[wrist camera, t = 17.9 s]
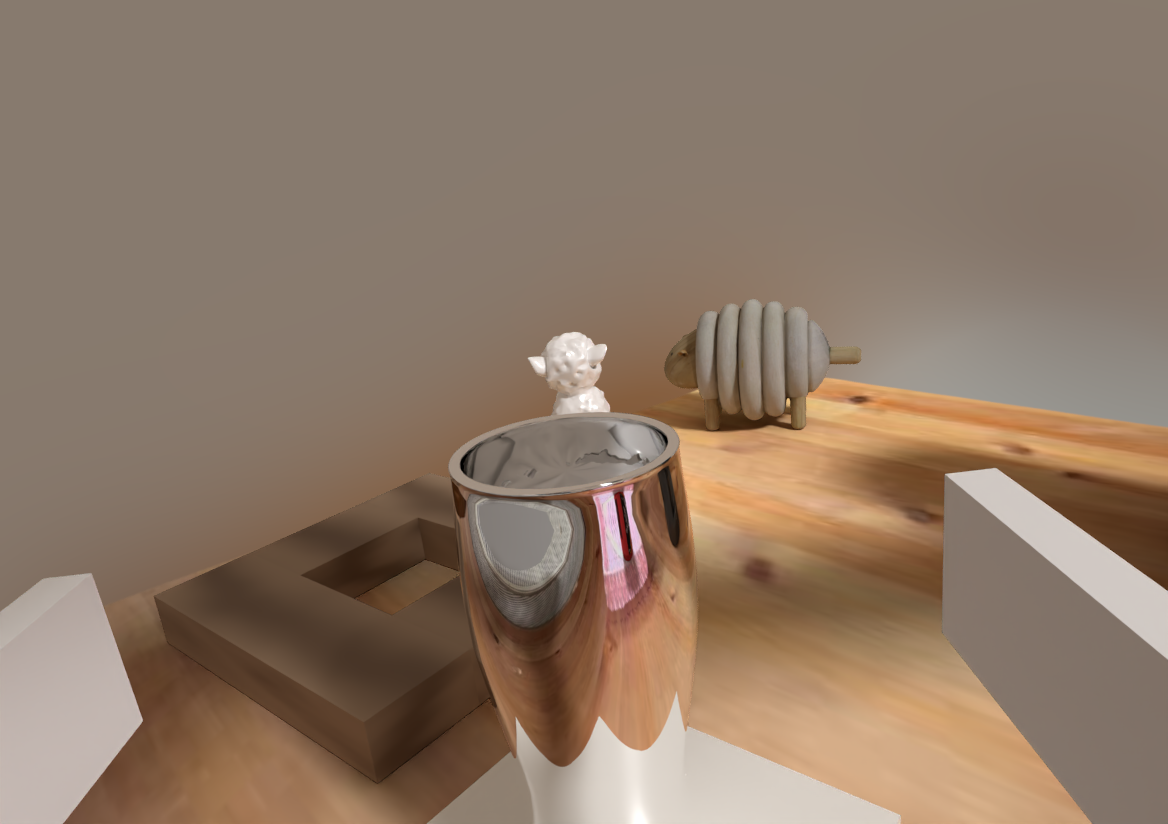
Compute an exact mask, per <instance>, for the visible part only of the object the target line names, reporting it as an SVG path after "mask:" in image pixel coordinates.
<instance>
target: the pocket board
mask: <svg viewBox="0 0 1168 824" xmlns="http://www.w3.org/2000/svg"><path fill="white" fill-rule="evenodd" d="M425 559H426V560H429V561H432V562H435V563H438V564H441V565H444V566H446V567H449V568H452V569H455V570H458V571H459V568H458V560H457V549H456V538H455V526H454V511H453V498H452V487H451V478H447V477H444V476H439V475H435V474H431V473H429V474H426V475H424V476H422V477H420V478H417V479H415V480H413V481H411V482H409V483H406V484H404V485H402V486H399V487H397V488H395V489H393V490H390V491H388V492H386V493H384V494H381V495H379V496H377V497H375V498H373V499H371V500H368V501H366V502H364V503H361V504H359V505H357V506H355V507H352V508H350V509H348V510H346V511H343V512H341V513H339V514H337V515H334V516H332V517H330V518H328V519H326V520H323V521H321V522H319V523H317V524H314V525H312V526H310V527H307V528H305V529H303V530H301V531H299V532H296V533H294V534H292V535H290V536H287V537H285V538H283V539H281V540H278V541H276V542H274V543H272V544H269V545H267V546H265V547H263V548H260V549H258V550H256V551H254V552H251V553H249V554H247V555H245V556H242V557H240V558H238V559H236V560H233V561H231V562H229V563H227V564H225V565H222V566H220V567H218V568H216V569H213V570H211V571H209V572H207V573H204V574H202V575H200V576H198V577H195V578H193V579H191V580H189V581H186V582H184V583H182V584H180V585H177V586H175V587H173V588H171V589H168V590H166V591H164V592H162V593H159V594H157V595H155V596H154V599H155V602H156V605H157V609H158V612H159V615H160V619H161V622H162V625H163V629H164V632H165V635H166V639H167V642H168V643H169V644H171V645H172V646H174V647H175V648H177V649H178V650H180V651H181V652H183V653H184V654H186V655H187V656H189V657H190V658H192V659H193V660H195V661H196V662H197V663H199V664H200V665H202V666H203V667H205V668H206V669H208V670H209V671H211V672H212V673H214V674H215V675H217V676H218V677H220V678H221V679H223V680H224V681H226V682H227V683H229V684H230V685H232V686H233V687H235V688H236V689H238V690H239V691H241V692H242V693H244V694H245V695H247V696H248V697H250V698H251V699H253V700H254V701H256V702H257V703H259V704H260V705H261V706H263V707H264V708H266V709H267V710H269V711H270V712H272V713H273V714H275V715H276V716H278V717H279V718H281V719H282V720H284V721H285V722H287V723H288V724H290V725H291V726H293V727H294V728H296V729H297V730H299V731H300V732H302V733H303V734H305V735H306V736H308V737H309V738H311V739H312V740H314V741H315V742H317V743H318V744H320V745H321V746H322V747H324V748H325V749H327V750H328V751H330V752H331V753H333V754H334V755H336V756H337V757H339V758H340V759H342V760H343V761H345V762H346V763H348V764H349V765H351V766H352V767H354V768H355V769H357V770H358V771H360V772H361V773H363V774H364V775H366V776H367V777H369V778H370V779H372V780H373V781H375V782H376V783H379V782H380V781H381V780H383V779H384V778H385V777H387V776H388V775H389V774H391V773H392V772H393V771H394V770H396V769H397V768H398V767H400V766H401V765H402V764H404V763H405V762H406V761H407V760H409V759H410V758H411V757H413V756H414V755H415V754H417V753H418V752H419V751H421V750H422V749H423V748H424V747H426V746H427V745H428V744H430V743H431V742H432V741H434V740H435V739H436V738H437V737H439V736H440V735H441V734H443V733H444V732H445V731H447V730H448V729H449V728H450V727H452V726H453V725H454V724H456V723H457V722H458V721H460V720H461V719H462V718H464V717H465V716H466V715H467V714H469V713H470V712H471V711H473V710H474V709H475V708H477V707H478V706H479V705H480V704H482V703H483V702H484V701H486V700H487V699H488V698H490V697H489V694H488V691H487V689H486V686H485V683H484V680H483V677H482V674H481V671H480V667H479V664H478V661H477V658H476V655H475V652H474V648H473V645H472V642H471V637H470V632H469V627H468V622H467V618H466V613H465V608H464V603H463V597H462V590H461V583H460V576H458V577H456V578H454V579H453V580H451V581H449V582H448V583H446V584H444V585H443V586H441V587H439V588H437V589H436V590H434V591H432V592H431V593H429V594H427V595H426V596H424V597H422V598H420V599H419V600H417V601H415V602H414V603H412V604H410V605H409V606H407V607H405V608H404V609H402V610H400V611H398V612H397V613H395V614H393V615H390V614H388V613H385V612H383V611H381V610H379V609H376V608H374V607H372V606H369V605H367V604H365V603H363V602H360V601H358V600H356V599H353V598H355V597H357V596H359V595H361V594H363V593H364V592H366V591H368V590H370V589H372V588H374V587H375V586H377V585H379V584H381V583H383V582H385V581H386V580H388V579H390V578H392V577H394V576H396V575H397V574H399V573H401V572H403V571H405V570H407V569H408V568H410V567H412V566H414V565H416V564H418V563H419V562H421V561H423V560H425Z"/></svg>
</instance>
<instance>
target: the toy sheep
mask: <svg viewBox="0 0 1168 824" xmlns="http://www.w3.org/2000/svg"><path fill="white" fill-rule="evenodd" d="M860 361H861V349H860V348H858V347H829V344H828V341H827V339H826V337H825V335H824V333H823V331H822V330H821V328H820V327H819V326H818V325H817V324H816V323H815V322H814V321H812V320H810V321H808V320H807V312H806V311H805V310H804V309H803V308H800V307H793V308H790V309H789V310H788V311H787V312H786V313H785V312H784V308H783V306H782V305H781V304H780V303H778V302H769V303H768V304H766V306H765V307H764V308H763V306H762V305H761V303H760V302H759V301H757V300H754V299H751V300H748V301H746V302H745V303H744V304H743V306H742V308H741V309H740V308H739V307H738V306H737V305H735V304H728V305H726V306H724V307H723V308H722V310H721V311H720V314H718V313H716V312H714V311H708V312H705V313H704V314H703V315H702V316H701V317H700V319H699V321H698V326H697V329H696V330H694V331H692V332H691V333H689V334H688V335H685V336H683V338H682V339H681V340H680V341H679V342H678V343H677V344H676V345H675V346H674V347H673V348H672V350H671V351H670V353H669V355H668V357H667V359H666V362H665V367H664V371H665V374H666V377H667V378H668V380H669V381H670V382H671V383H672V384H674V385H675V386H677V387H680V388H688V389H690V388H691V389H692V388H698V389H699V393H700V395H701V397H702V398H703V399H704V402H705V422H706V428H707V429H709V430H711V431H714V430H717V429H718V428H719V427H720V418H719V415H720V414H721V413H722V409H723V410H724V411H725V412H727V413H728V414H737V413H739V412H740V411H741V410H743V413H744V415H745V416H746V417H747V418H748V419H750V420H758V419H760V418H762V417H763V415H764V413H765V412H766V413H768V414H769V415H771V416H780V415H782V414H783V413H784V410H785V407H786V400H787V398H790V407H791V425H792V427H793V428H795V429H802V428H804V427H805V426H806V396H807V395H808V392H813V391H815V390H816V389H817V388H818V387H819V385H820V384H821V383H822V381H823V379H824V378H825V376H826V374H827V371H828V368H829V365H830V364H856V363H859V362H860Z"/></svg>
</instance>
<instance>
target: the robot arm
mask: <svg viewBox="0 0 1168 824" xmlns="http://www.w3.org/2000/svg"><path fill="white" fill-rule="evenodd" d="M942 633H943V634H944V636H945V637H946V638H947V640H948V641H949V642H950V643H951V645H952V646H953V647H954V648H955V650H956V651H957V652H958V653H959V655H960V656H961V657H962V659H963V660H964V661H965V662H966V664H967V665H968V666H969V667H970V669H971V670H972V671H973V673H974V674H975V675H976V676H977V678H978V679H979V680H980V681H981V683H982V684H983V685H984V687H985V688H986V689H987V690H988V692H989V693H990V694H991V695H992V697H993V698H994V699H995V700H996V702H997V703H998V704H999V706H1000V707H1001V708H1002V709H1003V711H1004V712H1005V713H1006V714H1007V716H1008V717H1009V718H1010V720H1011V721H1012V722H1013V723H1014V725H1015V726H1016V727H1017V728H1018V730H1019V731H1020V732H1021V734H1022V735H1023V736H1024V737H1025V739H1026V740H1027V741H1028V742H1029V744H1030V745H1031V746H1032V748H1033V749H1034V750H1035V751H1036V753H1037V754H1038V755H1039V756H1040V758H1041V759H1042V760H1043V761H1044V763H1045V764H1046V765H1047V767H1048V768H1049V769H1050V770H1051V772H1052V773H1053V774H1054V775H1055V777H1056V778H1057V779H1058V781H1059V782H1060V783H1061V784H1062V786H1063V787H1064V788H1065V789H1066V791H1067V792H1068V793H1069V795H1070V796H1071V797H1072V798H1073V800H1074V801H1075V802H1076V803H1077V805H1078V806H1079V807H1080V808H1081V810H1082V811H1083V812H1084V814H1085V815H1086V816H1087V817H1088V819H1089V820H1090V821H1091V822H1092V824H1168V591H1167V590H1166V589H1164V588H1163V587H1161V586H1160V585H1159V584H1157V583H1156V582H1154V581H1153V580H1152V579H1150V578H1149V577H1147V576H1146V575H1145V574H1143V573H1142V572H1140V571H1139V570H1138V569H1136V568H1135V567H1133V566H1132V565H1131V564H1129V563H1128V562H1126V561H1125V560H1124V559H1122V558H1121V557H1119V556H1118V555H1117V554H1115V553H1114V552H1113V551H1111V550H1110V549H1108V548H1107V547H1106V546H1104V545H1103V544H1101V543H1100V542H1099V541H1097V540H1096V539H1094V538H1093V537H1092V536H1090V535H1089V534H1087V533H1086V532H1085V531H1083V530H1082V529H1080V528H1079V527H1078V526H1076V525H1075V524H1073V523H1072V522H1071V521H1069V520H1068V519H1066V518H1065V517H1064V516H1062V515H1061V514H1059V513H1058V512H1057V511H1055V510H1054V509H1053V508H1051V507H1050V506H1048V505H1047V504H1046V503H1044V502H1043V501H1041V500H1040V499H1039V498H1037V497H1036V496H1034V495H1033V494H1032V493H1030V492H1029V491H1027V490H1026V489H1025V488H1023V487H1022V486H1020V485H1019V484H1018V483H1016V482H1015V481H1013V480H1012V479H1011V478H1009V477H1008V476H1006V475H1005V474H1004V473H1002V472H1001V471H999V470H998V469H997V468H992V469H983V470H975V471H966V472H957V473H949V474H945V485H944V542H943V598H942ZM142 722H143V719H142V716H141V714H140V711H139V708H138V705H137V702H136V699H135V696H134V693H133V691H132V688H131V685H130V682H129V679H128V676H127V673H126V670H125V668H124V665H123V662H122V659H121V656H120V653H119V650H118V648H117V645H116V642H115V639H114V636H113V633H112V630H111V627H110V625H109V622H108V619H107V616H106V613H105V610H104V607H103V605H102V602H101V599H100V596H99V593H98V591H97V587H96V585H95V582H94V579H93V576H92V574H91V573H89V574H79V575H71V576H62V577H54V578H45V579H42V580H41V581H40V582H38V583H37V584H36V585H35V586H33V587H32V588H31V589H29V590H28V591H27V592H25V593H24V594H23V595H22V596H20V597H19V598H18V599H16V600H15V601H14V602H13V603H11V604H10V605H9V606H7V607H6V608H5V609H3V610H2V611H1V612H0V824H63V823H64V822H65V821H66V819H67V818H68V817H69V815H70V814H71V813H72V812H73V810H74V809H75V808H76V806H77V805H78V804H79V803H80V801H81V800H82V799H83V797H84V796H85V795H86V794H87V792H88V791H89V790H90V788H91V787H92V786H93V785H94V783H95V782H96V781H97V780H98V778H99V777H100V776H101V774H102V773H103V772H104V771H105V769H106V768H107V767H108V765H109V764H110V763H111V762H112V760H113V759H114V758H115V756H116V755H117V754H118V753H119V751H120V750H121V749H122V747H123V746H124V745H125V744H126V742H127V741H128V740H129V738H130V737H131V736H132V735H133V733H134V732H135V731H136V729H137V728H138V727H139V726H140V724H141V723H142Z"/></svg>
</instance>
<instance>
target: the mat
mask: <svg viewBox="0 0 1168 824" xmlns="http://www.w3.org/2000/svg"><path fill="white" fill-rule="evenodd" d="M685 774H687V775H685V776H686V783H687V790H688V794H689V798H690V802H691V805H692V808H693V812H694V815H695V818H696V821H697V824H901V815H899V814H896V813H894V812H892V811H889V810H887V809H884V808H882V807H880V806H877V805H875V804H872V803H870V802H868V801H865V800H863V799H861V798H858V797H856V796H853V795H851V794H849V793H846V792H844V791H841V790H839V789H837V788H834V787H832V786H830V785H827V784H825V783H822V782H820V781H818V780H815V779H813V778H810V777H808V776H806V775H803V774H801V773H799V772H796V771H794V770H791V769H789V768H787V767H784V766H782V765H779V764H777V763H775V762H772V761H770V760H768V759H765V758H763V757H760V756H758V755H756V754H753V753H751V752H748V751H746V750H744V749H741V748H739V747H737V746H734V745H732V744H729V743H727V742H725V741H722V740H720V739H718V738H715V737H713V736H710V735H708V734H706V733H703V732H701V731H698V730H696V729H694V728H691V727H689V726H687V737H686V747H685ZM427 824H526V806H525V798H524V792H523V788H522V783H521V779H520V775H519V773H518V770H517V767H516V764H515V762H514V759H513V756H512V753H511V751H510V752H509V753H508V754H507V755H506V756H505V757H503V758H502V759H501V760H500V761H499V762H498V763H497V764H495V765H494V766H493V767H492V768H491V769H490V770H488V771H487V772H486V773H485V774H484V775H483V776H481V777H480V778H479V779H478V780H477V781H476V782H474V783H473V784H472V785H471V786H470V787H469V788H467V789H466V790H465V791H464V792H463V793H462V794H460V795H459V796H458V797H457V798H456V799H455V800H453V801H452V802H451V803H450V804H449V805H448V806H446V807H445V808H444V809H443V810H442V811H441V812H439V813H438V814H437V815H436V816H435V817H434V818H432V819H431V820H430V821H429V822H428V823H427Z"/></svg>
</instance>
